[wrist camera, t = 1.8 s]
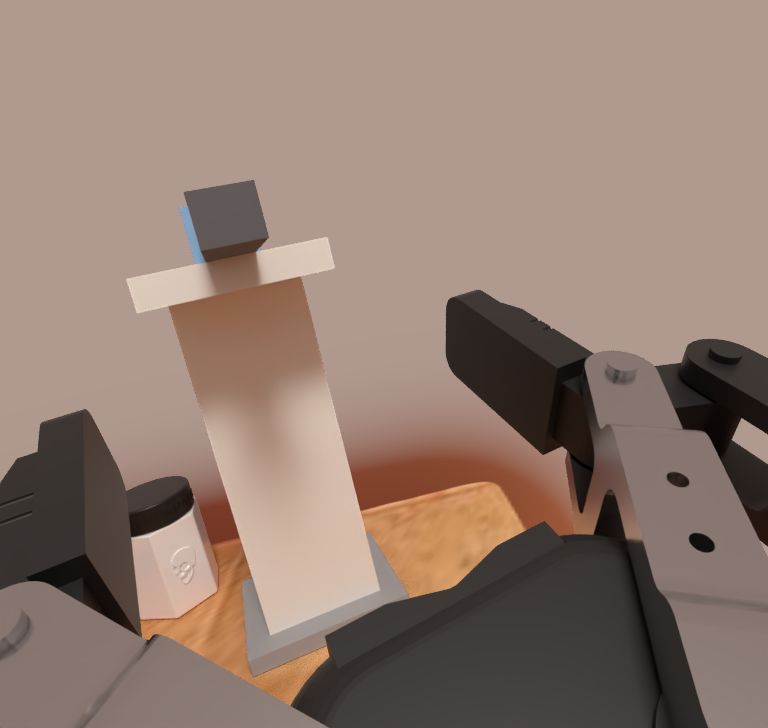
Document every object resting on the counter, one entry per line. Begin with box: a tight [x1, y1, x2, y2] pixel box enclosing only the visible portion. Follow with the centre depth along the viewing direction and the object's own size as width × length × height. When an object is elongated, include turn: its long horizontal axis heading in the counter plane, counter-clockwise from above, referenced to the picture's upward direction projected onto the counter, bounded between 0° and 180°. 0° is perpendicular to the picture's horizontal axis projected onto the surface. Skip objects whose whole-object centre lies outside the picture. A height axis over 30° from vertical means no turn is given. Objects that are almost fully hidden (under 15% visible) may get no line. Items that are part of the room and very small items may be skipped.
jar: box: [126, 476, 218, 620], centre depth 53 cm, size 9×8×12 cm
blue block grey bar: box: [179, 180, 269, 264], centre depth 30 cm, size 18×4×4 cm, turn 18°
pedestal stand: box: [126, 237, 409, 677], centre depth 42 cm, size 18×14×32 cm
